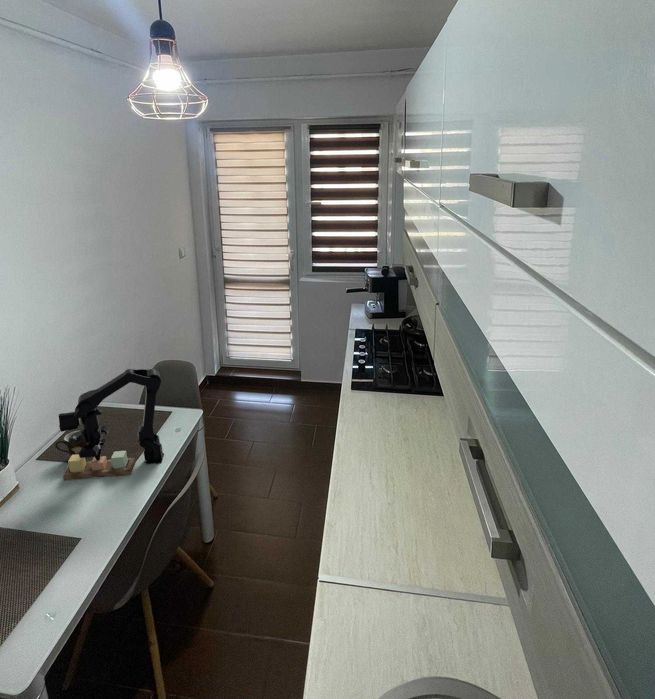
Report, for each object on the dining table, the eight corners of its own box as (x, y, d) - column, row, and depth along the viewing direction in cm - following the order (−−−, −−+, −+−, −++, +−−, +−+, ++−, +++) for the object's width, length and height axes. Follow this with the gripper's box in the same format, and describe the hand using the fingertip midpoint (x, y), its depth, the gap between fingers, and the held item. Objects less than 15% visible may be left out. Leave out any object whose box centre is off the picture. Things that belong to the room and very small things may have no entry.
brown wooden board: (135, 462, 202) (134, 457, 201) (130, 474, 194) (129, 469, 193) (71, 467, 199) (70, 462, 198) (63, 480, 191) (62, 475, 190)
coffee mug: (95, 451, 210) (91, 431, 206) (84, 463, 202) (79, 442, 198) (69, 450, 211) (65, 429, 207) (57, 461, 203) (52, 440, 199)
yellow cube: (86, 464, 197) (84, 453, 195) (82, 471, 193) (80, 460, 191) (74, 465, 196) (72, 454, 195) (70, 472, 192) (67, 461, 190)
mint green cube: (128, 461, 199) (126, 450, 197) (125, 467, 195) (123, 457, 193) (116, 462, 198) (114, 451, 196) (113, 468, 194) (111, 458, 192)
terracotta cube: (108, 466, 199) (106, 455, 197) (104, 473, 194) (102, 462, 192) (96, 467, 198) (94, 456, 196) (92, 474, 194) (90, 463, 192)
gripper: (77, 415, 196) (84, 448, 202) (60, 440, 179) (68, 475, 185) (106, 413, 198) (112, 446, 203) (92, 437, 180) (99, 473, 186)
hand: (98, 459), depth 194 cm, fingers closed, pressing on terracotta cube
